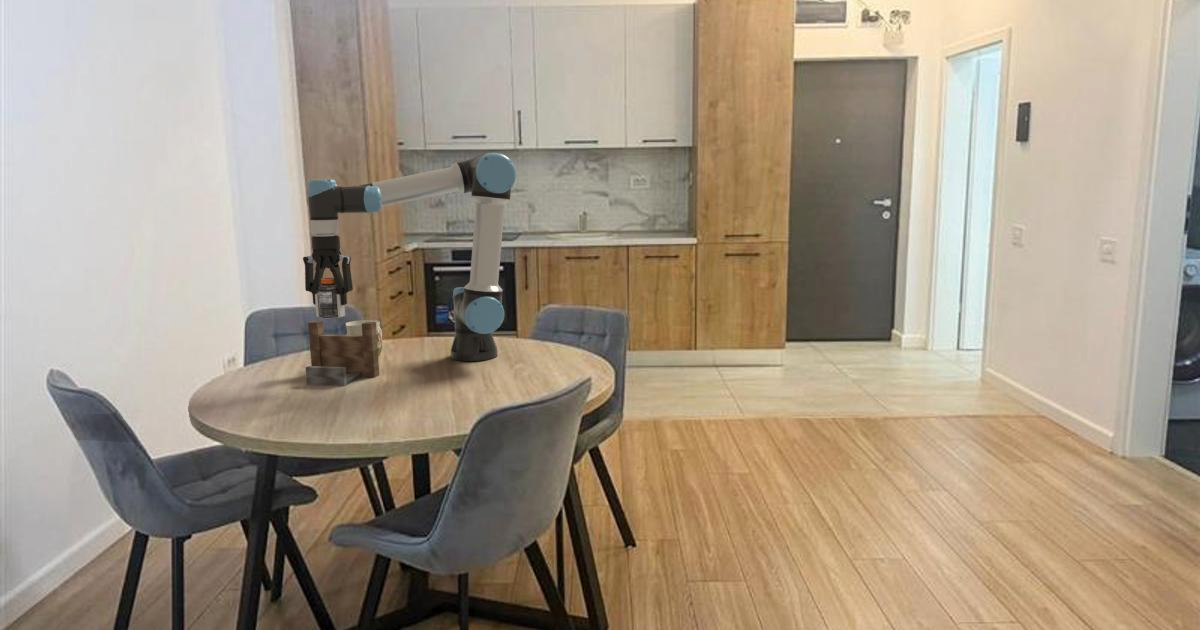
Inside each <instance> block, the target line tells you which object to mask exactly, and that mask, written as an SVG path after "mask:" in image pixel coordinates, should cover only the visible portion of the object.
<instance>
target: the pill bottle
mask: <svg viewBox="0 0 1200 630" xmlns="http://www.w3.org/2000/svg"><path fill="white" fill-rule="evenodd" d="M338 293H339V291H338V288H337V285H336V283H335V280H334V277H323V278H322V279H321V286H319V288H318V297H319V310H320V318H321V319H327V320H329V319H337V318H340V317H338V309H337V294H338Z"/></svg>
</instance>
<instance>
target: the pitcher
mask: <svg viewBox="0 0 1200 630" xmlns="http://www.w3.org/2000/svg"><path fill="white" fill-rule="evenodd" d="M364 322H376V330H377V345H378V360H379V359H380V357H381V354H382V349H383V332H382V331H383V330H382V328H381V326H380V322H381V321H380V320H376V319H375V320H374V319H364V320H363V319H362V320H361V319H360V320H353V321H349V322H345V323H344V324H345V327H346V335H362V323H364Z"/></svg>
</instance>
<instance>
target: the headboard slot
mask: <svg viewBox="0 0 1200 630" xmlns="http://www.w3.org/2000/svg"><path fill="white" fill-rule="evenodd" d="M323 321H324V320H312V321H311V320H310V321H309V322H307V327H308V337H309V338H308V340H309V341H308V342H309V350H310V351H309V352H310V362H311V363H310V364H311V365H308V366H306V367H305V375H306V376H305V377H306V385H310V386H311V385H312V386H313V385H315V386H317V385H318V386H343V387H344V386H347V385H349V384H351V383H353V382H355V381H356V380H358V379H361V378H362V377H365V378H377V377H378V376H380V365H379V364H380V363H379V360H378V345H377V330H376V322H364V323H362V335H347V334H326V333H325V332H324V322H323Z"/></svg>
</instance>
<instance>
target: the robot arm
mask: <svg viewBox="0 0 1200 630" xmlns="http://www.w3.org/2000/svg"><path fill="white" fill-rule="evenodd" d="M516 171H517V170H516V167H515V164H514V163H513V161H512V160H511V159H510V158H509V157H507V155H504V154H503V153H498V152H491V151H490V152H487V153H483V154H479V155H476V156H474V157H472V158H470V159H466V160H462V161H459V162H454V164H453V165H452V166H450V167H446V168H440V169H435V170H430V171H425V172H420V173H419V172H418V173H416V174H409V175H405V176H400V177H396V178H390V179H389V178H388V179H385V180H379V181H373V182H371V183H365V184H361V185H360V184H359V185H352V186H338V185H337V182H336V180H335V179H311V180H309V181H308V182H307V198H308V200H307V201H308V209H309V218H310V220H309V223H310V224H309V225H310V226H309V227H310V234H311V235H312V236H311V238H310V239H311V249H312V253H311V255H307V256H303V258H302V261H303V263H304V278H305V279H304V280H305V281H304V283H305V285H304V287H305V288H304V289H305V292H308V293H309V292H310V293H311V294H312V295H311V296H312V304H313V305H314V306H315V312H316V313H315V314H316V315H315V316H316V317H318V318H319V317H320V310H319V297H318V288H319V286H321V279H322V278H324V272H325V270H326V269H329V271H330V272H331V274H332V278H334V280H335V283H336V285H337V288H338V291H339V293H338V294H337V309H338V317H339V318H342V317H345V316H346V307H345V306H346V305H347V304H348V297H347V293H349V292H351V291H353V289H354V288H353V280H352V273H351V260H352V257H351V256H345V255H343V254H342V253H341V250H340V248H341V238H340V236H339V235H338V234H339V233H340V226H339V214H373V213H380V212H381V210H382V207H387V206H388V207H389V206H391V205H397V204H402V203H407V202H411V201H417V200H421V199H427V198H431V197H436V196H441V195H447V194H450V193H457V192H459V193H460V194H466V193H471V194H470V195H471V199H473V201H474V203H475V214H474V223H473V224H474V225H473V237H472V251H471V264H470V274H469V276H470V277H469V282H468V283H466V284H465V286H463V287H455V288H454V289H453V292H452V293H453V294H452V300H453V316H454V317H453V318H454V320H453V321H454V335H453V336H454V337H453V340H452V343H451V348H450V358H451V359H452V360H454V361H459V362H480V361H486V360H492V359H494V358H496V357H498V351H499V350H498V347H497V344H496V342H495V339H494V336H493V332H495V331H497V330H498V329H499V328H500V327H501V325H502V324H503V321H504V319H505V310H504V306H503V304H502V303H503V301H502V300H503V288H502V287H501V286H500V285H499V277H500V265H501V253H502V252H501V251H502V241H503V229H504V216H505V206H506V205H507V204H509V202H510V201H511V196H512V195H511V194H512V188H513V186H514V184H515V182H516V178H517V172H516ZM339 262H340V263H341V267H340V265H339ZM314 263H316V264H315V268H314ZM314 269H315V272H314ZM340 270H342V271H340ZM320 318H321V317H320Z"/></svg>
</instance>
